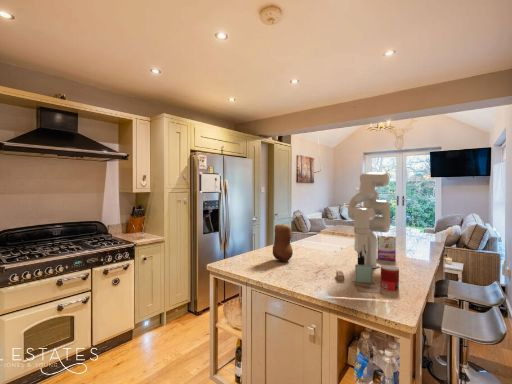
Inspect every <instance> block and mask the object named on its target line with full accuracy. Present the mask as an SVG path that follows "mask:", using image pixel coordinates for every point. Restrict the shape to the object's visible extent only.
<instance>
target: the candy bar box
mask: <svg viewBox="0 0 512 384" xmlns="http://www.w3.org/2000/svg"><path fill="white" fill-rule="evenodd" d="M376 238H377V260H378V261H379V260H380V261H393V262H394V261H396V260H397V259H396V258H397V257H396V253H397V252H396V245H397V244H396V243H397V242H396V241H397V240H396V239H397V237H396V236H395V235H383V234H382V235H380V234H378V235H376Z"/></svg>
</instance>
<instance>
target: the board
mask: <svg viewBox="0 0 512 384" xmlns="http://www.w3.org/2000/svg"><path fill="white" fill-rule="evenodd" d="M351 282H352V284H353V285H354V288H355V289H356V291H357V292H358V293H369V294H383V292H382V291H381V290H380V288H379V287H378V285H377V284H376V283H375V282H374V281H372V284H371V283H356V282H355V280H351Z"/></svg>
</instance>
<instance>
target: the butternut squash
mask: <svg viewBox="0 0 512 384" xmlns="http://www.w3.org/2000/svg"><path fill="white" fill-rule="evenodd" d="M291 239H292V228H291V226H290V225H288V224H285V223H277V224H276V225H275V227H274V240H273V241H274V242H273V247H272V256H273V257H274V258H275V260H277V261H279V262H282V263H286V262H287V261H290V259H291V258H292V257H293V255H294V254H293V248H292V245H291Z"/></svg>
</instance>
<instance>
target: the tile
mask: <svg viewBox="0 0 512 384" xmlns="http://www.w3.org/2000/svg"><path fill="white" fill-rule="evenodd" d="M354 269H355V270H354V281H355V282H356V283H371V284H372V282H373V268H372V265H358V263H357V264H354Z"/></svg>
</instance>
